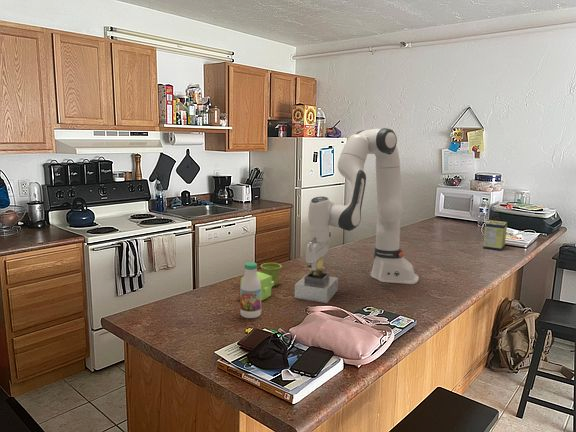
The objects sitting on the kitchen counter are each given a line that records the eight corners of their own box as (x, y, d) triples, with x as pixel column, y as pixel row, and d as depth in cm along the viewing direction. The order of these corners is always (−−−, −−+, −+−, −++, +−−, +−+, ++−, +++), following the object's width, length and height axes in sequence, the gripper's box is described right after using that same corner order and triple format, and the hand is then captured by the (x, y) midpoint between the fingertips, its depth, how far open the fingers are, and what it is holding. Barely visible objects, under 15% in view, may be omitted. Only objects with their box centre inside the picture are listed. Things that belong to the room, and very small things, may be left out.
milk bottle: (240, 310, 174) (240, 260, 171) (260, 310, 175) (261, 260, 171) (240, 319, 167) (240, 266, 163) (261, 318, 167) (261, 266, 164)
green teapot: (252, 309, 178) (252, 286, 176) (232, 302, 183) (233, 280, 181) (278, 295, 193) (279, 274, 190) (259, 289, 198) (260, 268, 196)
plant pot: (284, 282, 208) (284, 264, 207) (276, 288, 200) (277, 269, 198) (265, 279, 211) (265, 261, 210) (257, 286, 203) (257, 267, 201)
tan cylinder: (323, 272, 193) (324, 255, 192) (320, 276, 189) (321, 258, 187) (312, 271, 195) (313, 254, 194) (309, 274, 191) (309, 257, 189)
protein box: (504, 246, 284) (507, 221, 281) (501, 251, 271) (504, 225, 268) (487, 243, 290) (489, 219, 287) (482, 248, 277) (485, 223, 274)
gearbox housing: (337, 290, 198) (338, 272, 197) (326, 303, 184) (327, 283, 182) (307, 286, 203) (307, 268, 202) (294, 298, 189) (295, 278, 187)
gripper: (317, 242, 178) (316, 275, 181) (332, 231, 197) (330, 262, 200) (302, 240, 181) (301, 273, 183) (318, 230, 199) (317, 260, 202)
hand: (316, 267), depth 192 cm, fingers closed on tan cylinder, 5 cm apart
